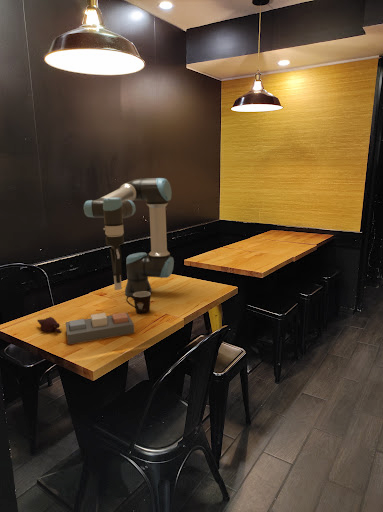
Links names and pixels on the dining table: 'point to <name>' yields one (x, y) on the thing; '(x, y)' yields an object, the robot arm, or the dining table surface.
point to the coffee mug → (141, 302)
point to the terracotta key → (119, 318)
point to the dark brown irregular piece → (49, 325)
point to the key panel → (99, 330)
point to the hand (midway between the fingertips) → (118, 289)
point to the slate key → (77, 324)
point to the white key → (98, 320)
